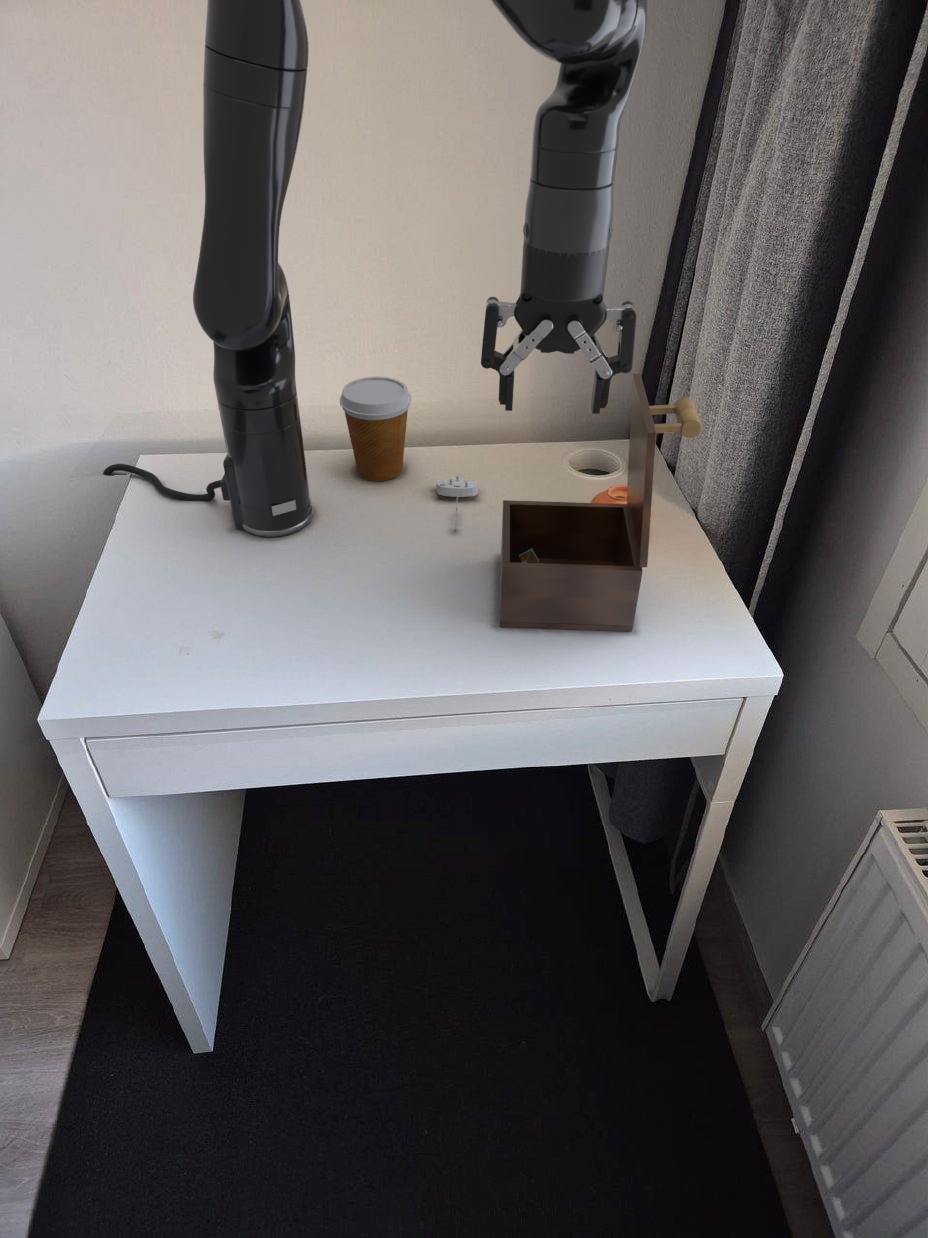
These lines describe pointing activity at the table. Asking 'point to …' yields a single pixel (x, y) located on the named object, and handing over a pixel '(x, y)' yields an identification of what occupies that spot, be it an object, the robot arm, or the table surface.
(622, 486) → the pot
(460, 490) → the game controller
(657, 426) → the lid
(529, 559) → the wooden post with brackets
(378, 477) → the disposable coffee cup
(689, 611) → the table surface
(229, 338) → the robot arm
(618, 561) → the chest
